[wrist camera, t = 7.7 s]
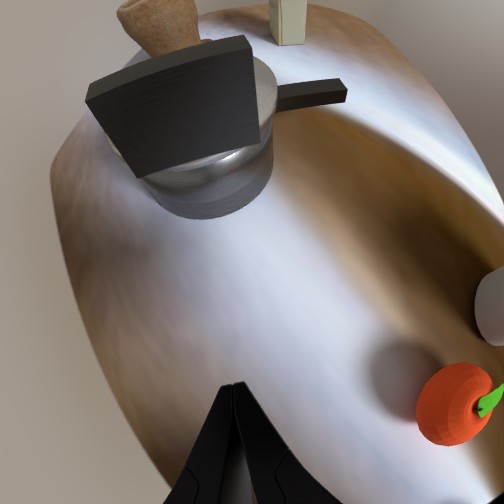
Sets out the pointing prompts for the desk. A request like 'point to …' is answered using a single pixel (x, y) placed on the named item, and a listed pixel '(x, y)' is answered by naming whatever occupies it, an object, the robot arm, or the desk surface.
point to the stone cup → (161, 24)
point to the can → (491, 307)
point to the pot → (237, 163)
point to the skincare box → (287, 21)
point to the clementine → (456, 404)
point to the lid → (185, 106)
